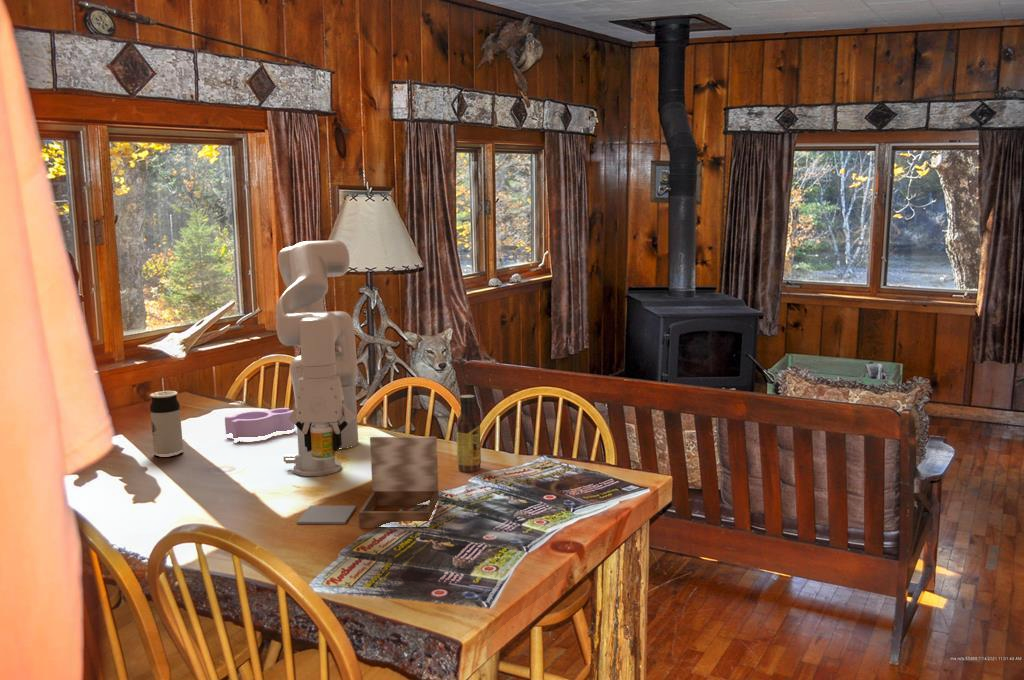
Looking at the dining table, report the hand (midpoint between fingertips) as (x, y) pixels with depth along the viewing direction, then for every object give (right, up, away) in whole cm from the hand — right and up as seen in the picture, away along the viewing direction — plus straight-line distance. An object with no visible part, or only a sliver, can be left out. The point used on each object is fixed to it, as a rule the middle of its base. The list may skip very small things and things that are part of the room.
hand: (323, 449), depth 214 cm
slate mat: (0, -16, +3) cm, 16 cm away
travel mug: (-56, -8, +58) cm, 81 cm away
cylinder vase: (-9, -6, +64) cm, 64 cm away
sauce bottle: (+32, -10, +36) cm, 49 cm away
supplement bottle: (0, -2, 0) cm, 2 cm away
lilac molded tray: (-34, -5, +77) cm, 84 cm away
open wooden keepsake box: (+17, -15, +1) cm, 23 cm away
